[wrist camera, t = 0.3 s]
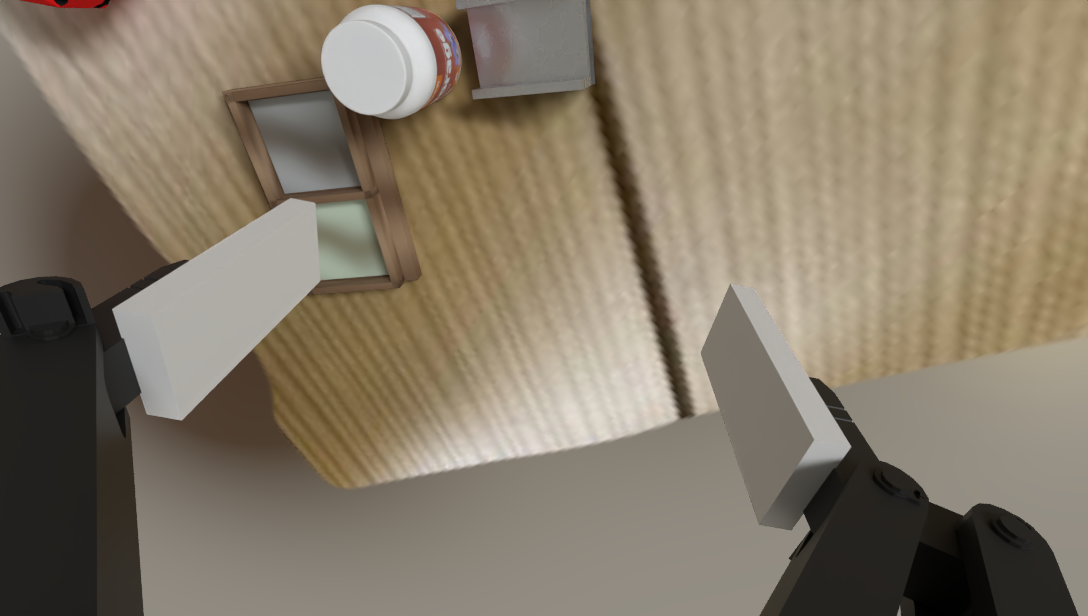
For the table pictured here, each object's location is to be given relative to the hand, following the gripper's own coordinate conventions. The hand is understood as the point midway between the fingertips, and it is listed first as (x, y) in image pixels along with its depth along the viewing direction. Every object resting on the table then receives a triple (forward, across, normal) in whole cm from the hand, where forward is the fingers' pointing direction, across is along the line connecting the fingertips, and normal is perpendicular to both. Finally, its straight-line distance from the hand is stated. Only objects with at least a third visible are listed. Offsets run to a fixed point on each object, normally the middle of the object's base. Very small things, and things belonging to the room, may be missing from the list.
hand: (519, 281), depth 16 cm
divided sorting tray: (+26, -18, -9) cm, 32 cm away
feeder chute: (+26, -3, +5) cm, 26 cm away
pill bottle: (+26, -11, +3) cm, 28 cm away
